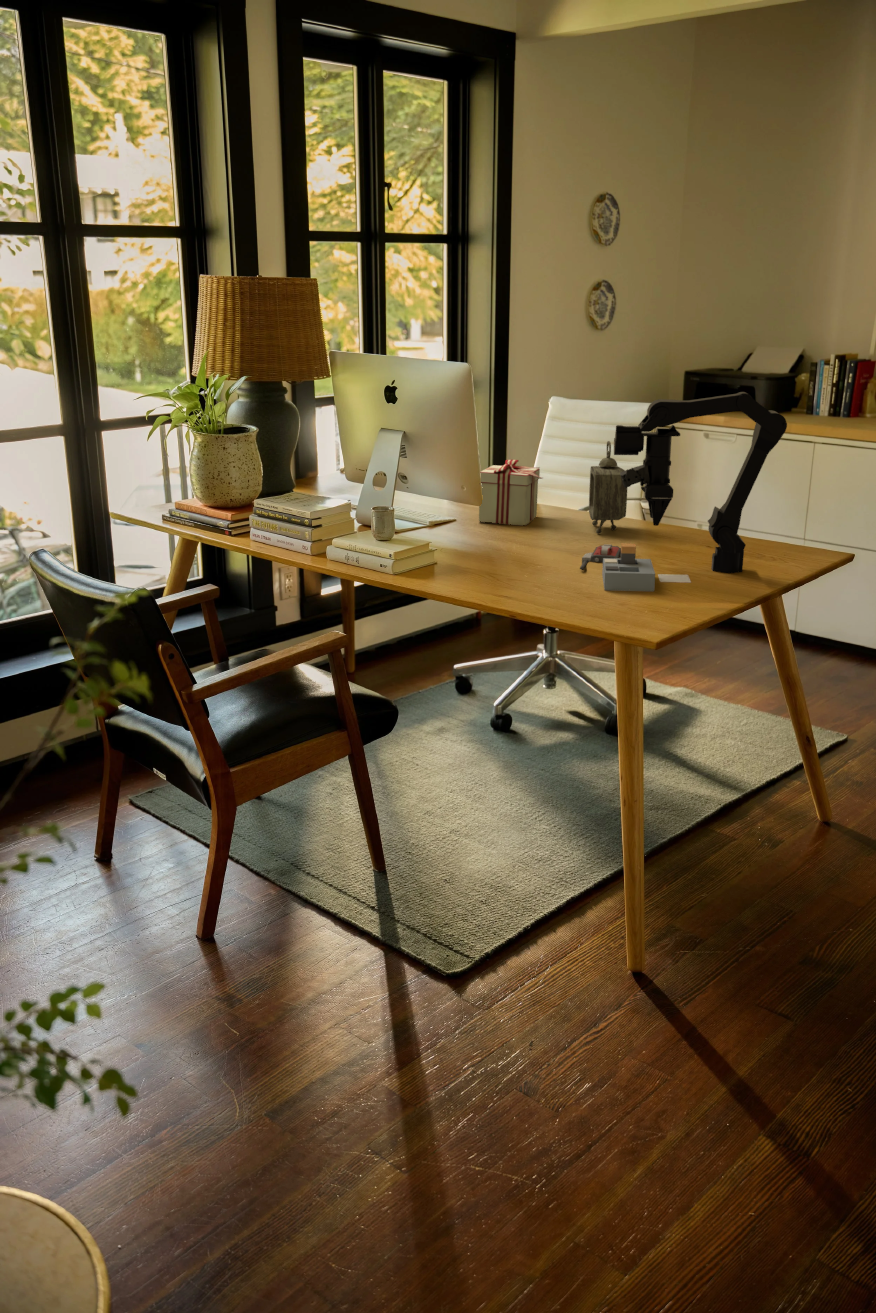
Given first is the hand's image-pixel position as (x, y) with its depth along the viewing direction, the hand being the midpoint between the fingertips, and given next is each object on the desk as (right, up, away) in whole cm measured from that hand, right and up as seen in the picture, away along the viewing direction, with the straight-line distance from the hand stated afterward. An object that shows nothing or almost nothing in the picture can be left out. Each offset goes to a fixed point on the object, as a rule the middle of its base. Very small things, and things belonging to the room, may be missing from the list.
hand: (654, 521), depth 257 cm
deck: (+4, -15, -5) cm, 16 cm away
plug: (-7, -14, -5) cm, 17 cm away
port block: (-8, -16, -8) cm, 20 cm away
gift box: (-29, +8, +65) cm, 72 cm away
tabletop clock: (-4, +4, +50) cm, 51 cm away
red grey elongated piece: (-11, -10, +13) cm, 19 cm away
